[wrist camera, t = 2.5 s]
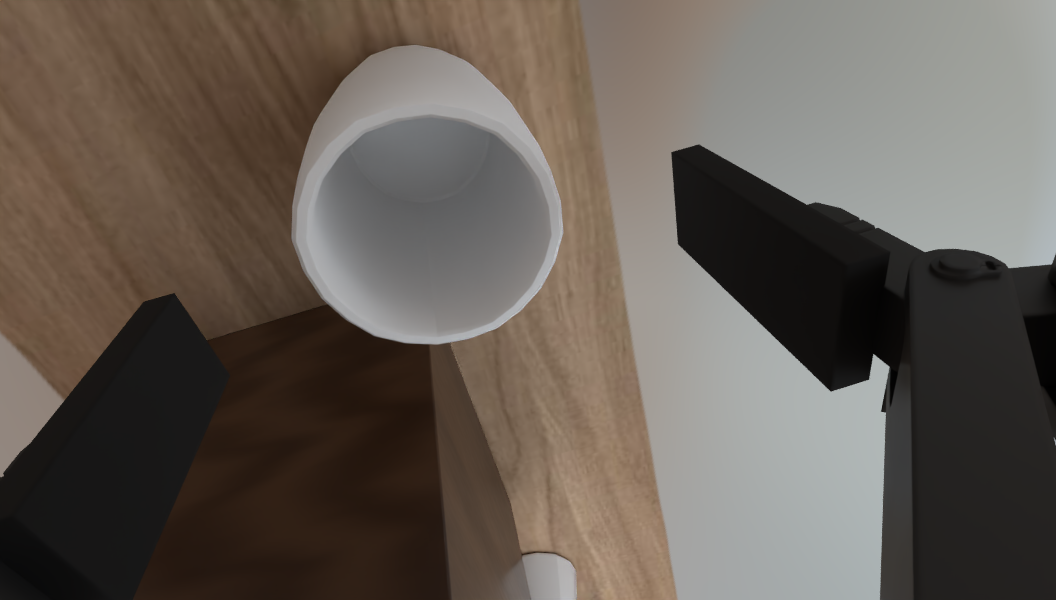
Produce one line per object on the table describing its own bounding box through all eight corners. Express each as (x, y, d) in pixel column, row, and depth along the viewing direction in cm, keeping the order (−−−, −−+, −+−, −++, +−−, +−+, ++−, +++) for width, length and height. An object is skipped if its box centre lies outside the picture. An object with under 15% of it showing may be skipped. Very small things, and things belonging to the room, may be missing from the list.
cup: (503, 39, 27) (590, 89, 15) (497, 203, 31) (562, 346, 19) (320, 30, 25) (248, 79, 13) (340, 205, 29) (301, 365, 17)
